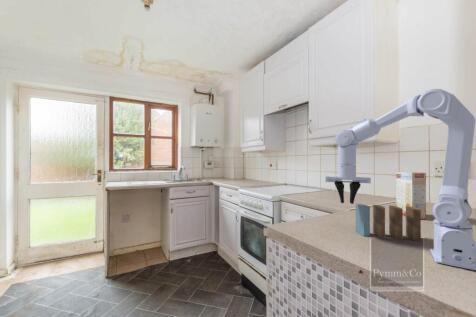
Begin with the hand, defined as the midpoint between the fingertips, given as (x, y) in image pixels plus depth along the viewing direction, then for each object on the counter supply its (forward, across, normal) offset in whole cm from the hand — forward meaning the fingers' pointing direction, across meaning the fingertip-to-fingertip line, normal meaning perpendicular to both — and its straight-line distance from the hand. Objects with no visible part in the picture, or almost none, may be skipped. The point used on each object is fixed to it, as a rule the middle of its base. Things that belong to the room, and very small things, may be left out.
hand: (346, 203), depth 77 cm
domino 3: (+10, -15, 0) cm, 18 cm away
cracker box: (+11, -36, -37) cm, 53 cm away
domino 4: (+10, -20, 0) cm, 23 cm away
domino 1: (+10, -5, 0) cm, 12 cm away
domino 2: (+10, -10, 0) cm, 14 cm away
